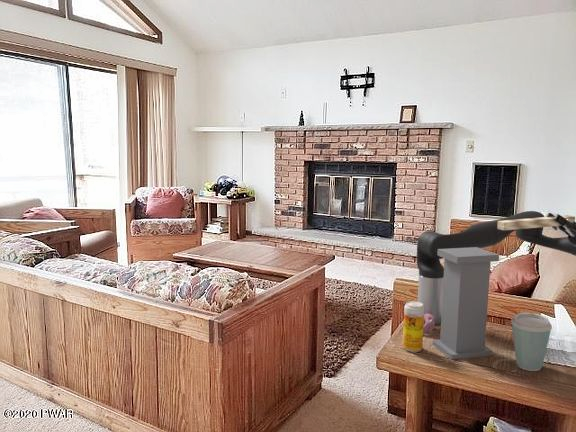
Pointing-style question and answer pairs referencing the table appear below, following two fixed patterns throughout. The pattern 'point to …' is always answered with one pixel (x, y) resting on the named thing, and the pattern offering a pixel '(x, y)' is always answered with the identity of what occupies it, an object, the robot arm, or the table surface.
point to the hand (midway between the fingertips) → (551, 216)
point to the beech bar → (530, 223)
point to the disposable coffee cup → (530, 339)
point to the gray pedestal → (465, 302)
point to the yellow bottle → (413, 326)
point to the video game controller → (428, 323)
